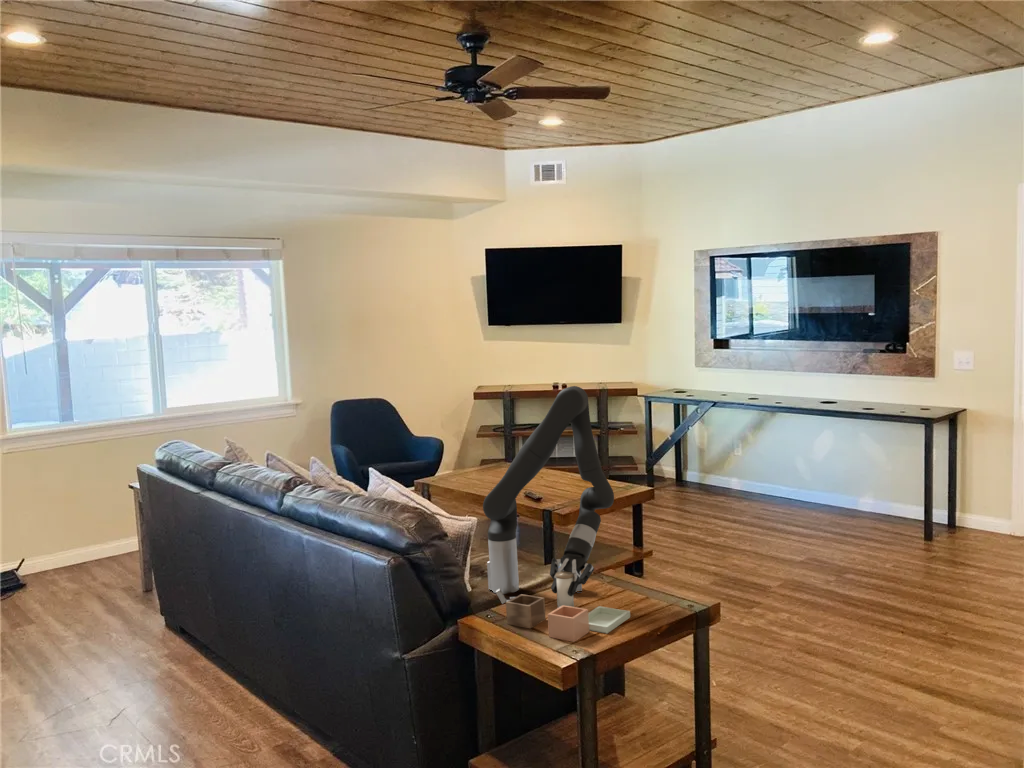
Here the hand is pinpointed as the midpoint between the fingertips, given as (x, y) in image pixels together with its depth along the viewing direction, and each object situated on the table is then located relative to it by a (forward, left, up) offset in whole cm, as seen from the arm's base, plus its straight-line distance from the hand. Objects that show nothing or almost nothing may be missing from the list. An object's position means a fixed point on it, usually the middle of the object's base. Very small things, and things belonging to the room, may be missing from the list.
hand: (561, 593), depth 223 cm
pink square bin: (+9, -12, -7) cm, 17 cm away
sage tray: (+13, 0, -7) cm, 15 cm away
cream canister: (0, +2, -5) cm, 5 cm away
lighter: (-16, -5, -7) cm, 18 cm away
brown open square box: (-7, -9, -7) cm, 13 cm away
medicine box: (-11, +22, -7) cm, 25 cm away
